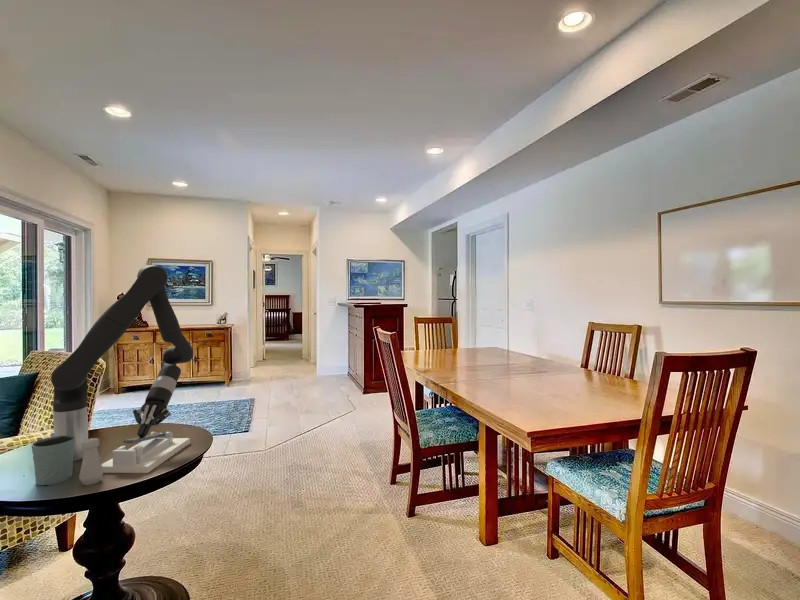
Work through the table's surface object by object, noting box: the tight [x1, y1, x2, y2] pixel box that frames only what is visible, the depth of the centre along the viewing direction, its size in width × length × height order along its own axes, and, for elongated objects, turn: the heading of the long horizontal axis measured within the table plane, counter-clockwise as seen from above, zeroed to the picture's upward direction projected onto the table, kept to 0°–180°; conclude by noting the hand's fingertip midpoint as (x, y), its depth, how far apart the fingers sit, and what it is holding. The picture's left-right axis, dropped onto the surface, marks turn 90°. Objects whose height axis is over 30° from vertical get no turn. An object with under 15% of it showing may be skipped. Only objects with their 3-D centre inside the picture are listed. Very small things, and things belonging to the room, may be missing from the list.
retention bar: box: [123, 432, 166, 444], centre depth 143 cm, size 3×19×1 cm, turn 178°
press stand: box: [101, 431, 191, 474], centre depth 143 cm, size 16×25×7 cm, turn 179°
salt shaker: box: [78, 437, 104, 486], centre depth 124 cm, size 6×6×13 cm
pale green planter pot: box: [30, 435, 75, 486], centre depth 127 cm, size 10×10×12 cm
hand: (141, 436), depth 140 cm, fingers closed
